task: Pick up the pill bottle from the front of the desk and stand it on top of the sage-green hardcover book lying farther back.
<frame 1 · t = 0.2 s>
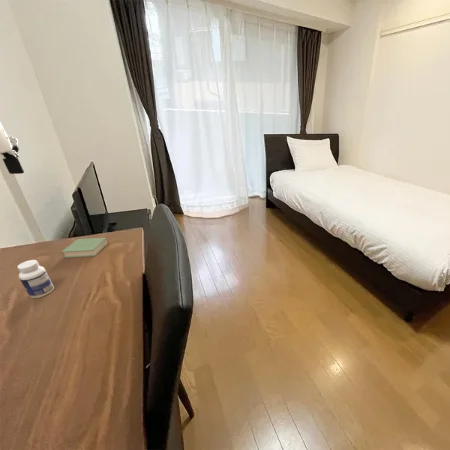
hand: (1, 178, 68), 32 cm above the table, tool pointing down, fingers open, 9 cm apart
pill bottle: (42, 292, 77), on the table
book: (87, 250, 98), on the table
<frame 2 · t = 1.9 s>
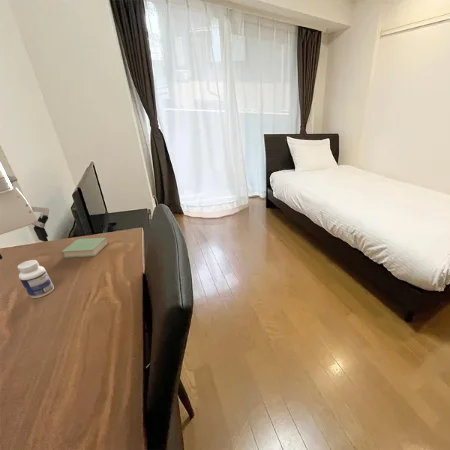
hand: (22, 248, 71), 14 cm above the table, tool pointing down, fingers open, 9 cm apart
nothing on the table moved.
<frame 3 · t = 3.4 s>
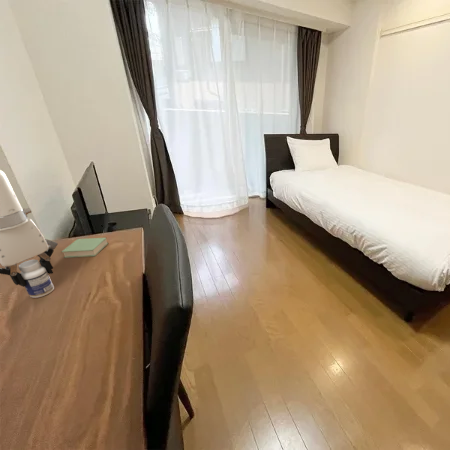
hand: (35, 278, 75), 5 cm above the table, tool pointing down, fingers closed on pill bottle, 5 cm apart
pill bottle: (42, 292, 77), on the table, touching gripper
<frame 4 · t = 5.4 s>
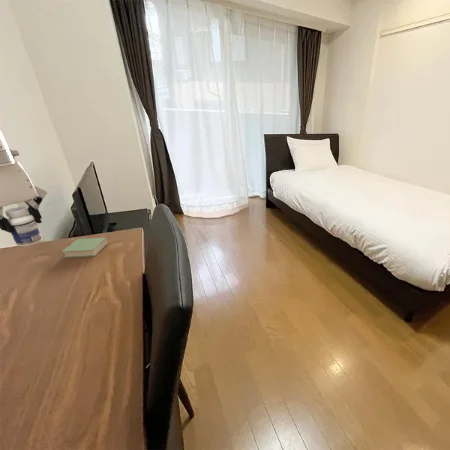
hand: (23, 226, 72), 19 cm above the table, tool pointing down, fingers closed on pill bottle, 5 cm apart
pill bottle: (30, 242, 75), point 14 cm above the table, touching gripper
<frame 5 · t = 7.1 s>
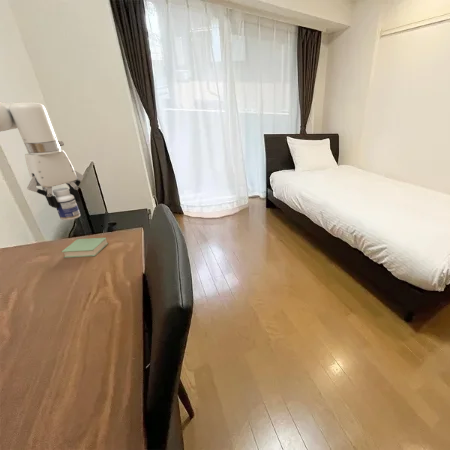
hand: (66, 203, 89), 19 cm above the table, tool pointing down, fingers closed on pill bottle, 5 cm apart
pill bottle: (71, 217, 91), point 13 cm above the table, touching gripper
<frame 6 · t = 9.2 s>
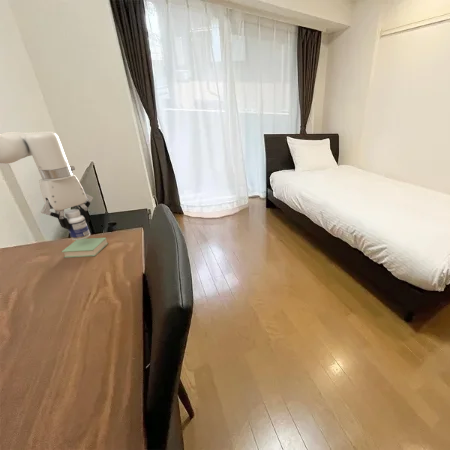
hand: (76, 224, 93), 10 cm above the table, tool pointing down, fingers closed on pill bottle, 5 cm apart
pill bottle: (81, 237, 95), point 5 cm above the table, touching gripper
when the fingers open (7 cm above the table, at t = 10.6 s): pill bottle stays where it is, resting on book.
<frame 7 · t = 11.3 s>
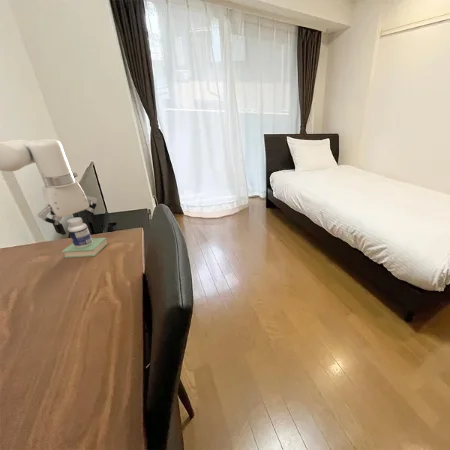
hand: (77, 227, 94), 9 cm above the table, tool pointing down, fingers open, 9 cm apart
pill bottle: (84, 244, 97), point 2 cm above the table, touching book
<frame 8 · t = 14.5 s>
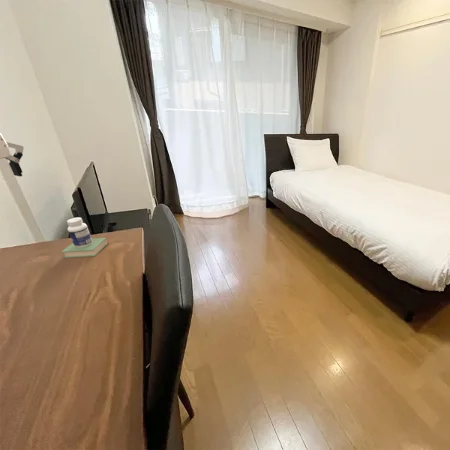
nothing on the table moved.
at the end: pill bottle inside the target area on the book (0.2 cm from its centre), point 2.3 cm above the book's base; pill bottle tilted 0°; the gripper is holding nothing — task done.
